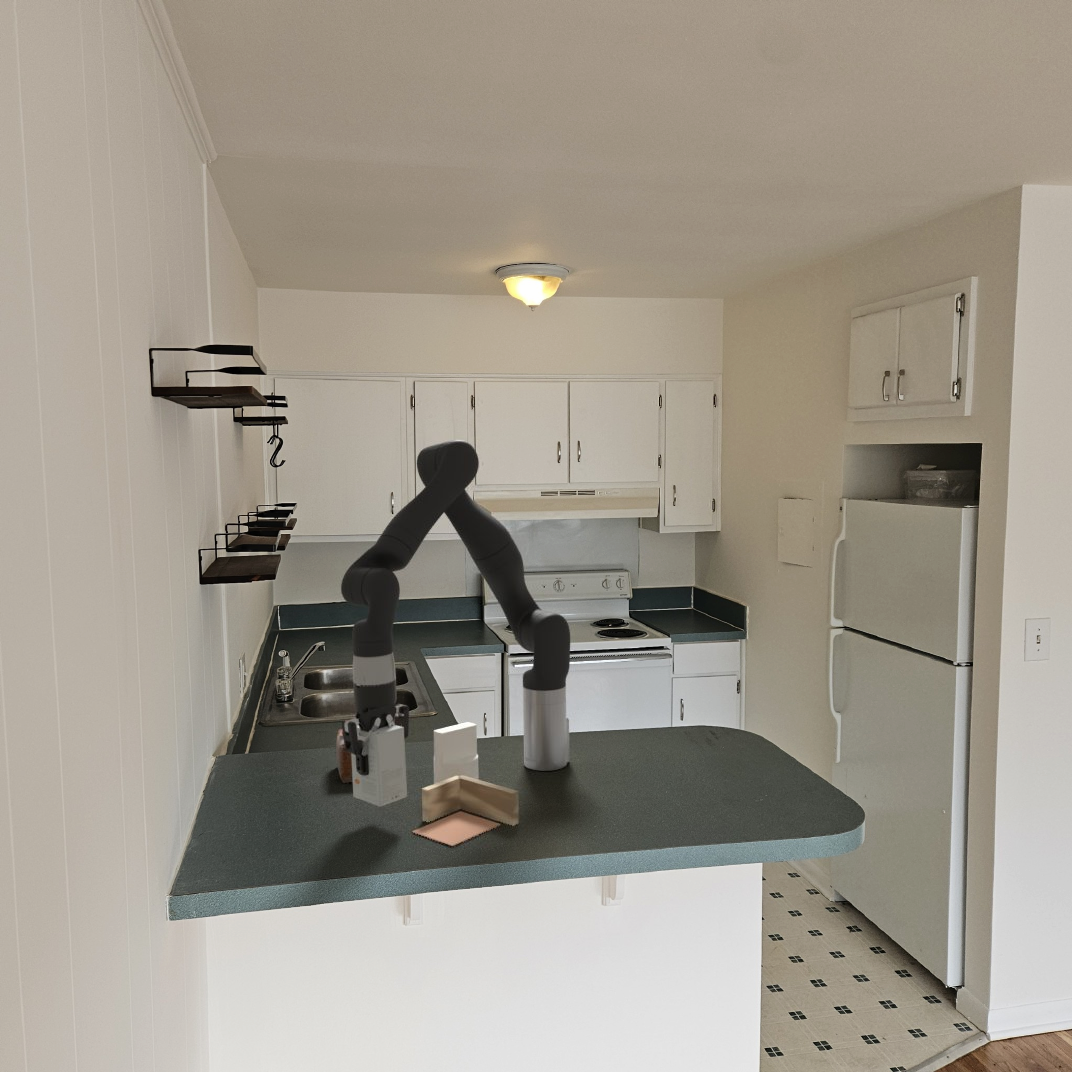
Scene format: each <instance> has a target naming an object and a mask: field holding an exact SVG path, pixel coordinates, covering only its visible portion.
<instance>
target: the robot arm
mask: <svg viewBox="0 0 1072 1072" xmlns="http://www.w3.org/2000/svg"><path fill="white" fill-rule="evenodd" d="M479 465H480V462H479V455H478V453H477V451H476V449H475V448H474V446H473V445H472V444H471V443H470V442H468V441H466V440H462V439H455V440H448V441H444V442H440V443H436V444H432V445H429V446H426V447H425V448H422V450H420V451H419V453H418V456H417V460H416V470H417V473H418V476H419V478H420V480H421V482H422V484H423V486H424V488H423V489H422V490H421V491H420V492H419V493H418V494H416V496H415V497H414V498H413V499H411V500H410V501H409V502H408V503H407V504H406V505H405V506H403V508H401V509H400V510H399V511H398V512H397V513H396V514H395V515H394V516H393V518H392V519H391V520H390V522H389V523H388V524H387V525H386V526H385V529H384V530H383V531H382V533H381V535H380V536H379V537H378V538H377V540H376V542H375V544H374V545H372V546H371V547H370V548H368V549H367V550H366V551H365V552H364V553H363V554H361V555H360V556H359V557H358V558H357V559H356V560H355V561H354V562H353V563H352V564H351V565H350V566H349V567H348V569H347V570H346V571H345V573H344V575H343V577H342V580H341V584H340V591H341V592H340V593H341V595H342V598H343V600H344V601H345V602H347V603H348V604H350V605H353V606H358V607H366V608H368V609H369V610H368V614H367V617H366V618H365V619H362V620H359V621H357V622H355V623H354V625H353V627H352V631H351V632H352V633H351V634H352V651H353V652H352V653H353V658H352V659H353V660H352V685H353V701H354V702H353V703H354V706H355V707H356V713H355V717H353V718H351V719H349V720H347V719H344V720H342V722H341V729H342V731H343V738H344V745H345V751H346V752H347V753H351V754H354V755H355V756H356V770H357V772H358V773H359V774H360V775H363V776H366V775H368V774H369V762H368V755H367V752H368V743H369V741H370V736H369V735H368V736H367V737H364V736H361V735H360V733H359V731H358V730H362V731H366V732H369V733H372V732H375V731H377V729H379V728H382V727H386V726H389V727H390V726H394V725H397V726H401V727H404V739H407V738H408V737H409V725H410V724H409V722H410V719H409V718H410V707H409V706H408V705H406V704H401V703H397V704H396V702H397V697H398V696H397V680H396V679H397V677H396V661H395V657H394V642H393V628H394V623H395V619H396V614H397V610H398V605H399V600H400V596H401V595H400V594H401V589H400V582H399V579H398V577H397V575H396V574H395V572H397V571H401V570H404V569H406V567H407V566H409V563H410V562H411V560H412V559H413V558H414V556H415V554H416V553H417V551H418V549H419V548H420V546H421V544H422V542H424V539H425V538H426V537H427V535H428V534H429V533H430V531H431V530H432V529H433V527H434V526H435V524H436V523H437V522H438V521H439V520H440V518H441V516H442V515H443V514H445V516H446V518H447V519H448V520H449V522H450V524H451V525H452V527H453V528H454V530H455V532H456V533H457V534H458V536H459V539H460V540H461V541H462V543H463V544H464V546H465V548H466V550H467V551H468V553H469V555H470V558H471V559H472V561H473V562H474V564H475V566H476V568H477V570H478V571H479V573H480V574H481V575H482V577H483V579H484V580H485V582H486V584H487V585H488V587H489V589H490V591H491V592H492V594H493V596H494V597H495V598H496V600H497V602H498V604H499V605H500V607H501V609H502V611H503V613H504V616H505V618H506V621H507V622H508V625H509V627H510V629H511V631H512V633H513V636H514V639H515V640H516V642H517V643H518V644H519V646H520V647H521V648H522V649H523V650H526V651H527V652H530V653H533V665H532V668H531V669H528V670H526V671H524V673H523V675H522V708H523V709H522V712H523V714H522V715H523V765H524V767H526V768H527V769H530V770H533V771H539V772H540V771H543V772H544V771H545V772H546V771H547V772H548V771H550V772H551V771H557V770H559V769H563V768H565V767H567V764H568V763H569V762H570V719H569V717H567V687H566V686H567V677H568V674H569V672H570V664H571V663H570V661H571V659H570V657H571V630H570V626H569V623H568V621H567V619H566V618H565V617H564V616H563V615H561V614H559V613H557V612H551V611H547V610H543V609H542V608H540V606H539V605H538V604H537V602H536V600H534V598H533V596H532V594H531V593H530V591H529V588H528V587H527V584H526V579H525V566H524V559H523V557H522V554H521V552H520V549H519V548H518V545H517V544H516V542H515V540H514V538H513V536H512V535H511V534H510V531H509V530H508V529H507V528H506V526H505V525H503V524H502V523H501V522H500V521H499V520H498V519H497V518H496V517H495V516H493V515H492V514H490V513H489V512H488V511H487V510H486V509H484V508H483V507H481V506H480V505H479V504H478V503H477V502H476V501H474V500H473V499H472V497H471V496H470V495H469V494H468V493H469V492H467V490H466V488H467V487H468V486H470V485H471V483H472V482H473V481H474V479H475V478H476V476H477V474H478V471H479ZM358 725H359V728H357V726H358ZM362 741H364V742H363V746H362V744H361V742H362ZM361 747H362V748H361Z"/></svg>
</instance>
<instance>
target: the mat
mask: <svg viewBox="0 0 1072 1072" xmlns="http://www.w3.org/2000/svg"><path fill="white" fill-rule="evenodd" d="M499 825H500V826H501V823H500V822H499V823H498V822H497V821H496V822H495V821H494V820H493V821H492V820H490V819H487V818H484V817H480V816H478V815H475V814H472V813H471V814H470V813H469V812H465V811H462V810H459V811H456V812H454V813H452V814H449V815H448V816H446V817H445V816H444V817H443V818H441V819H438V820H435V821H432V822H430V823H429V824H427V825H425V826H424V825H423V826H422V827H420V828H417V829H415V830H412V832H413V833H412V832H411V833H412V834H414V833H415V835H417V834H418V835H417V836H419V835H421V836H420V837H422V836H424V837H423V838H425V837H427V838H426V839H428V838H429V840H431V839H432V840H431V841H433V840H435V841H434V842H436V841H438V842H437V843H439V842H442V843H445V844H448V845H451V846H454V845H456V844H459V843H461V842H463V843H465V842H467V841H469V840H468V839H470V840H471V838H472V837H474V838H475V836H476V837H479V836H480V835H479V834H481V835H483V834H484V832H485V833H487V832H490V831H491V829H492V830H494V829H496V828H498V827H500V826H499ZM497 826H498V827H497ZM493 828H494V829H493ZM486 831H487V832H486ZM482 833H483V834H482ZM472 839H473V838H472ZM466 840H467V841H466ZM464 841H465V842H464ZM442 843H441V844H442ZM445 844H444V845H445ZM461 844H462V843H461ZM459 845H460V844H459ZM454 847H455V846H454Z"/></svg>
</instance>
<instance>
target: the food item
mask: <svg viewBox="0 0 1072 1072" xmlns="http://www.w3.org/2000/svg"><path fill="white" fill-rule="evenodd" d="M335 743H336V744H335V745H336V748H335V749H336V750H335V754H336V757H335V758H336V765H337V770H338V774H339V778H340V780H341V782H342V783H345V784H346V783H347V784H350V783H349V782H351V783H353V778H352V757H351V753H347V752H346V751H345V745H344V738H343V731H342V728H340V729H339V730H338V731H337V736H336V742H335Z"/></svg>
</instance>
